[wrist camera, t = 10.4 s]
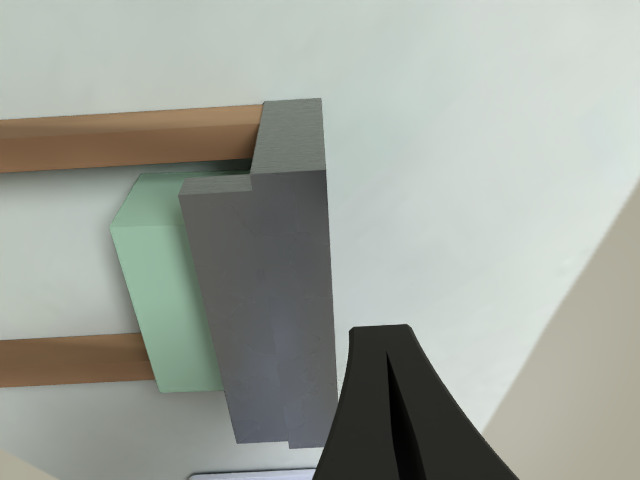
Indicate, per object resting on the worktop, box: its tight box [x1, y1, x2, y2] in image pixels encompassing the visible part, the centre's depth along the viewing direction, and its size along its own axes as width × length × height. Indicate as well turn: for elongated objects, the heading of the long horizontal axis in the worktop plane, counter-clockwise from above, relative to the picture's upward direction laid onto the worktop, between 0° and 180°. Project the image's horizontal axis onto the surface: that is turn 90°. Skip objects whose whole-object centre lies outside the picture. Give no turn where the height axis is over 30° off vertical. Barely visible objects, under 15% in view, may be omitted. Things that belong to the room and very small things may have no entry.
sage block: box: [109, 170, 251, 393], centre depth 21 cm, size 8×5×4 cm, turn 2°
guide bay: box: [0, 98, 338, 449], centre depth 19 cm, size 12×18×6 cm, turn 93°
